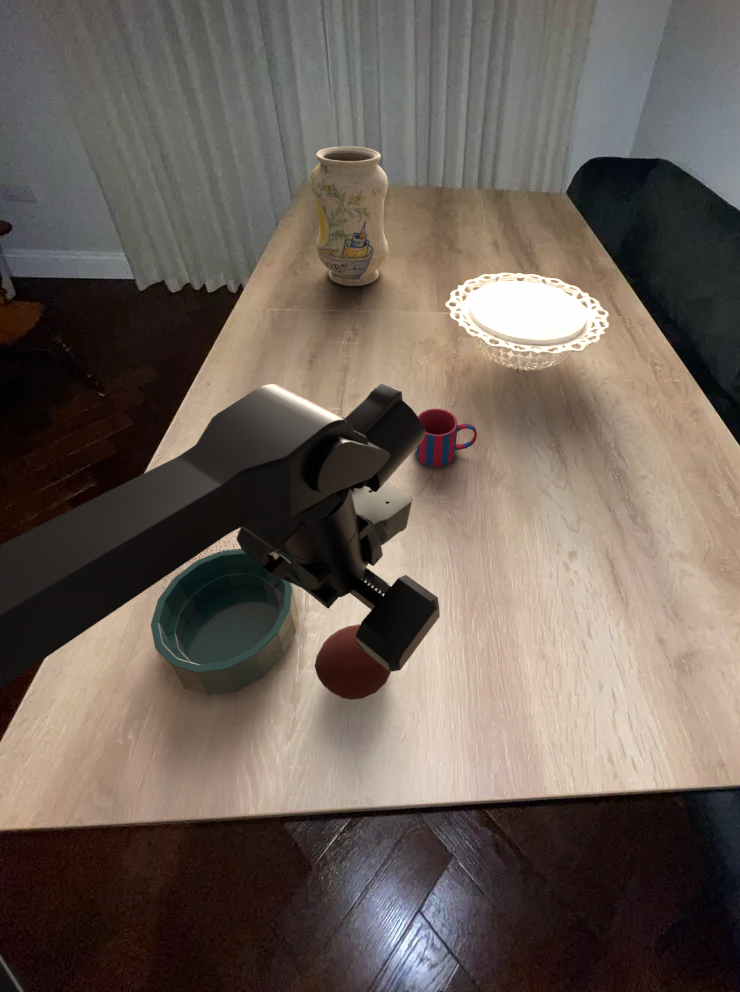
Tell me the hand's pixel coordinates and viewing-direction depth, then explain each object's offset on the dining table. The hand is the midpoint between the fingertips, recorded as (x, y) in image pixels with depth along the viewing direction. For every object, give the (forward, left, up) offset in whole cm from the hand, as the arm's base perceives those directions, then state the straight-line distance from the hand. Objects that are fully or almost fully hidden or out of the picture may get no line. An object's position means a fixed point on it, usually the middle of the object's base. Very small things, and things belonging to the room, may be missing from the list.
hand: (347, 613), depth 51 cm
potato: (0, 0, -14) cm, 14 cm away
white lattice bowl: (+67, +17, -14) cm, 71 cm away
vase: (+73, +70, -14) cm, 103 cm away
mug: (+35, +13, -14) cm, 40 cm away
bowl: (-5, +15, -14) cm, 21 cm away
